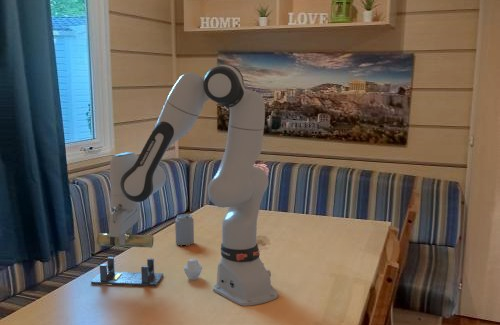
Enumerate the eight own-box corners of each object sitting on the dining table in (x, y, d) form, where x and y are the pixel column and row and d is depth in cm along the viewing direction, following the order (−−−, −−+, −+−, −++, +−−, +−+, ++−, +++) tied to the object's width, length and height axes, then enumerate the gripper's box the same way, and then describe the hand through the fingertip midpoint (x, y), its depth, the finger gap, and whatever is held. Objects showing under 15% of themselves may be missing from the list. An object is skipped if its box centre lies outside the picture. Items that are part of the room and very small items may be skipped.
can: (192, 246, 202) (192, 218, 200) (174, 246, 202) (173, 218, 200) (195, 240, 209) (194, 213, 207) (177, 240, 209) (176, 213, 207)
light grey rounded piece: (185, 282, 166) (185, 262, 165) (182, 275, 172) (182, 256, 171) (203, 280, 168) (203, 261, 167) (200, 273, 174) (200, 254, 173)
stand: (163, 276, 172) (162, 258, 171) (156, 286, 163) (155, 268, 162) (101, 274, 174) (100, 256, 173) (91, 284, 165) (90, 265, 164)
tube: (153, 245, 168) (153, 233, 167) (150, 249, 164) (150, 237, 163) (101, 243, 169) (101, 231, 168) (97, 247, 165) (96, 235, 164)
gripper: (123, 210, 153) (124, 252, 156) (142, 194, 173) (143, 232, 176) (103, 209, 154) (105, 252, 156) (125, 193, 174) (126, 231, 176)
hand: (125, 241), depth 166 cm, fingers closed on tube, 4 cm apart
